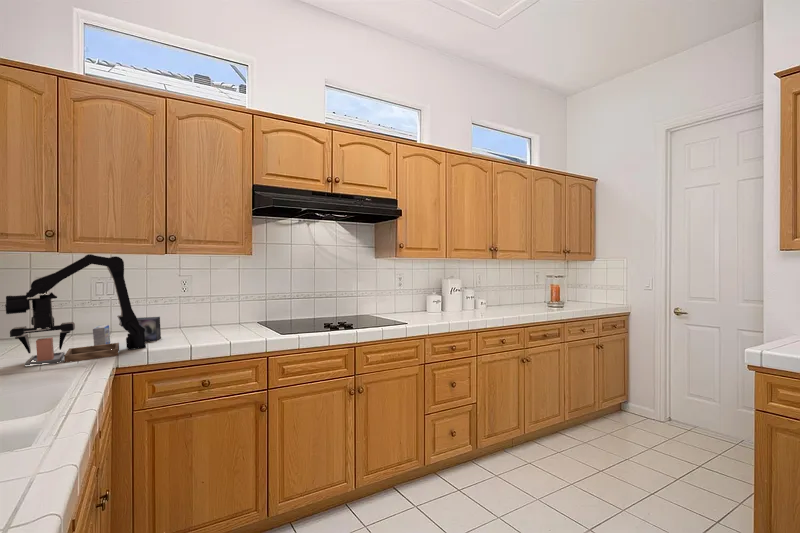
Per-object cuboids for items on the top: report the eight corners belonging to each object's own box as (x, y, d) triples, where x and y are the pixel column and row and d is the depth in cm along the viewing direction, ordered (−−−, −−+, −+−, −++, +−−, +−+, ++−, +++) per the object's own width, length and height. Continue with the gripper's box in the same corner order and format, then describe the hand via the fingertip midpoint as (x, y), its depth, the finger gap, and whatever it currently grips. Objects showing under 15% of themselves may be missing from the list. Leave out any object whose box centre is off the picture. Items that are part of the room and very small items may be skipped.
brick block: (54, 357, 168) (52, 337, 168) (52, 359, 165) (50, 339, 164) (39, 359, 166) (38, 338, 166) (37, 361, 162) (36, 340, 162)
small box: (131, 342, 195) (130, 319, 195) (137, 339, 202) (135, 317, 201) (156, 341, 197) (155, 318, 197) (161, 338, 204) (160, 316, 203)
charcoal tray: (64, 355, 174) (64, 351, 174) (59, 362, 162) (59, 358, 162) (32, 359, 169) (32, 355, 169) (25, 367, 157) (24, 363, 157)
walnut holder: (119, 348, 184) (118, 342, 184) (118, 355, 171) (117, 349, 171) (69, 354, 175) (69, 348, 175) (64, 362, 162) (64, 355, 162)
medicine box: (105, 347, 188) (104, 327, 187) (93, 348, 186) (92, 328, 185) (110, 343, 195) (109, 324, 194) (98, 344, 193) (97, 325, 193)
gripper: (75, 306, 176) (77, 344, 177) (15, 311, 166) (18, 351, 167) (71, 309, 167) (74, 349, 167) (8, 314, 157) (11, 356, 158)
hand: (45, 351), depth 165 cm, fingers open, 9 cm apart
